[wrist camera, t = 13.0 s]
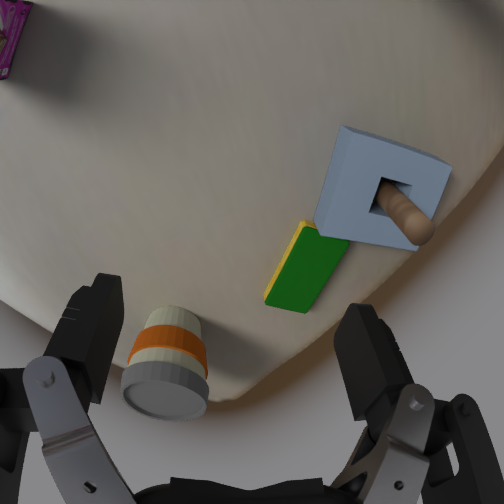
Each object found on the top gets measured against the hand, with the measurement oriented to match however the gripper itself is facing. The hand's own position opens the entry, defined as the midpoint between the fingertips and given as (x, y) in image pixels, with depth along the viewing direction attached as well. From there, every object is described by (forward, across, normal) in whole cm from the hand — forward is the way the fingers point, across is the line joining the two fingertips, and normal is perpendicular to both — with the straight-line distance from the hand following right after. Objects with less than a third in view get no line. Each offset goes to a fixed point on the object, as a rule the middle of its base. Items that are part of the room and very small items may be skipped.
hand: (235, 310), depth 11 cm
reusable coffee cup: (+28, +5, +32) cm, 43 cm away
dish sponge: (+29, -13, +17) cm, 36 cm away
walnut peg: (+28, -20, +3) cm, 34 cm away
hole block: (+28, -20, +3) cm, 34 cm away
